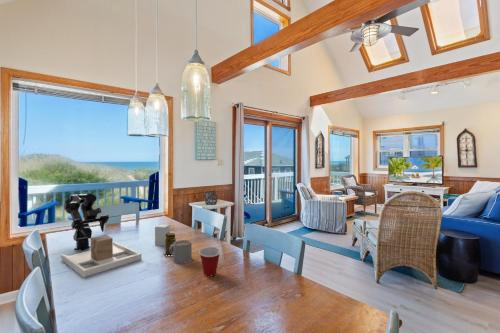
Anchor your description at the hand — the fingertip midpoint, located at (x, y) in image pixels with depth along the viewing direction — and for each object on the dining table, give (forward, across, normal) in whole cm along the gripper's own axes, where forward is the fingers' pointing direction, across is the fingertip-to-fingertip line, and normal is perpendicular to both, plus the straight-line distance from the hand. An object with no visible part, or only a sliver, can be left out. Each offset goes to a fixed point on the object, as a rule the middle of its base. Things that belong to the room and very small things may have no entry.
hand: (94, 233), depth 148 cm
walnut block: (+15, 0, +1) cm, 15 cm away
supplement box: (+18, +38, +1) cm, 42 cm away
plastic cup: (+57, +27, -44) cm, 77 cm away
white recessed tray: (+16, 0, +2) cm, 17 cm away
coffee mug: (+39, +30, -23) cm, 54 cm away
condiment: (+31, +31, -14) cm, 46 cm away
